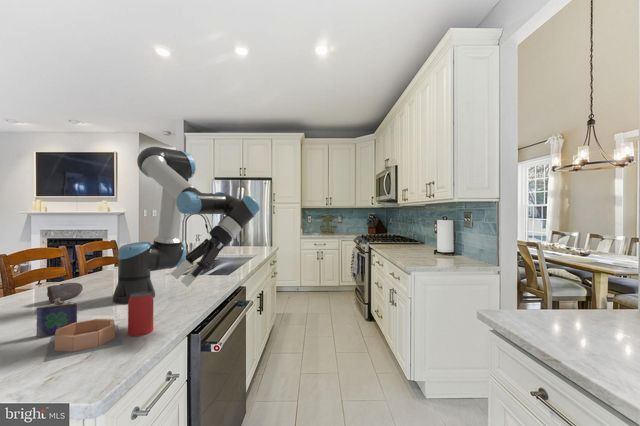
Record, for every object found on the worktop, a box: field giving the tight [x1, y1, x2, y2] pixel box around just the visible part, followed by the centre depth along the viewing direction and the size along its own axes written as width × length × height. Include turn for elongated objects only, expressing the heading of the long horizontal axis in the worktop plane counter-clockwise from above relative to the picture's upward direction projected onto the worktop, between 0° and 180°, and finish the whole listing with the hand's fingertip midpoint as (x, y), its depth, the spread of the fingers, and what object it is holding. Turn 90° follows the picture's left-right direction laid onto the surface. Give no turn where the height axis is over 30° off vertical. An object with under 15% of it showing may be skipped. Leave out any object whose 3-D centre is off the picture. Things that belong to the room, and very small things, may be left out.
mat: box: [43, 324, 124, 363], centre depth 85 cm, size 18×16×1 cm
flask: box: [35, 298, 78, 338], centre depth 90 cm, size 9×3×11 cm, turn 121°
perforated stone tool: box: [46, 282, 84, 303], centre depth 126 cm, size 15×5×7 cm, turn 170°
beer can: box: [127, 291, 154, 337], centre depth 91 cm, size 7×7×12 cm
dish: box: [54, 318, 116, 352], centre depth 85 cm, size 13×13×4 cm
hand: (178, 280), depth 97 cm, fingers open, 13 cm apart
